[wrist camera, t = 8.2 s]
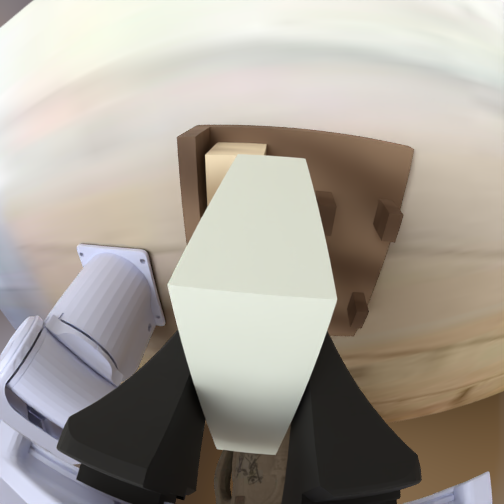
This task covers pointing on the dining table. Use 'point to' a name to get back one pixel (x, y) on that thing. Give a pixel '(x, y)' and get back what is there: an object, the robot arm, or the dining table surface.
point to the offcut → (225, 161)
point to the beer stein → (252, 476)
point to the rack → (321, 199)
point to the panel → (254, 301)
